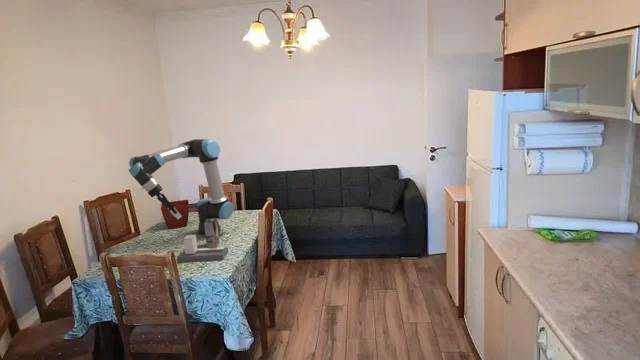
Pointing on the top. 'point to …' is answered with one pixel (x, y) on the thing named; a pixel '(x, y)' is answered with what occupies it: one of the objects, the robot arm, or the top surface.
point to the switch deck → (204, 255)
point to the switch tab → (190, 244)
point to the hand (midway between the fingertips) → (178, 216)
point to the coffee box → (211, 232)
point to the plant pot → (172, 221)
